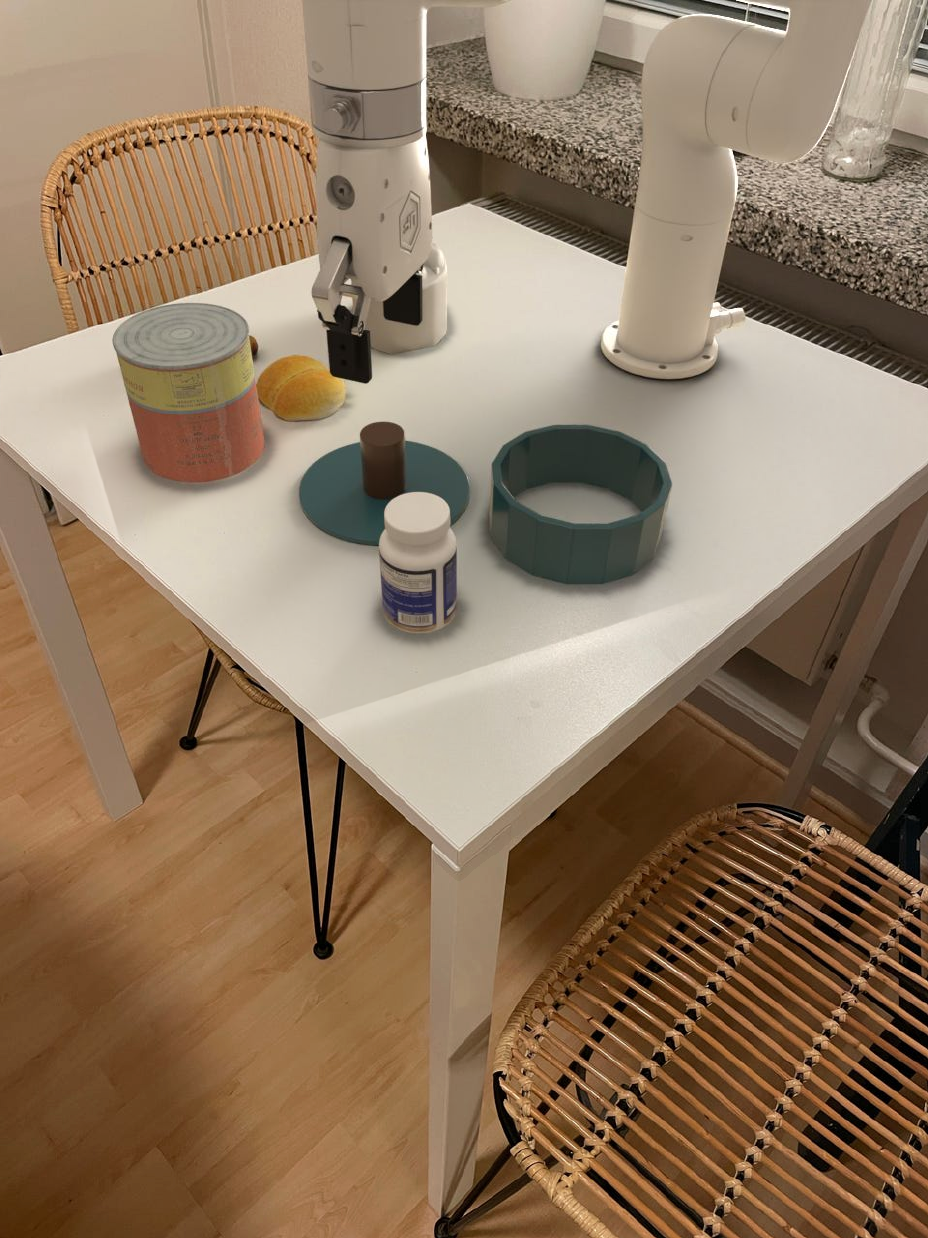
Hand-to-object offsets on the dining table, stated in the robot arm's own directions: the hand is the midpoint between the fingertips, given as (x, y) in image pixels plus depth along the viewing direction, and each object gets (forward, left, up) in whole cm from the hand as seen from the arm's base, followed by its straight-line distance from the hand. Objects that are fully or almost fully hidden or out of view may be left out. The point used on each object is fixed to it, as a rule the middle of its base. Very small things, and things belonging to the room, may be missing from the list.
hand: (378, 348), depth 73 cm
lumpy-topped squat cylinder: (-13, -30, -15) cm, 36 cm away
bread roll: (+2, -19, -15) cm, 24 cm away
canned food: (+13, -14, -15) cm, 24 cm away
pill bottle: (+3, +14, -15) cm, 21 cm away
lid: (0, -1, -14) cm, 14 cm away
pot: (-13, +10, -15) cm, 22 cm away
